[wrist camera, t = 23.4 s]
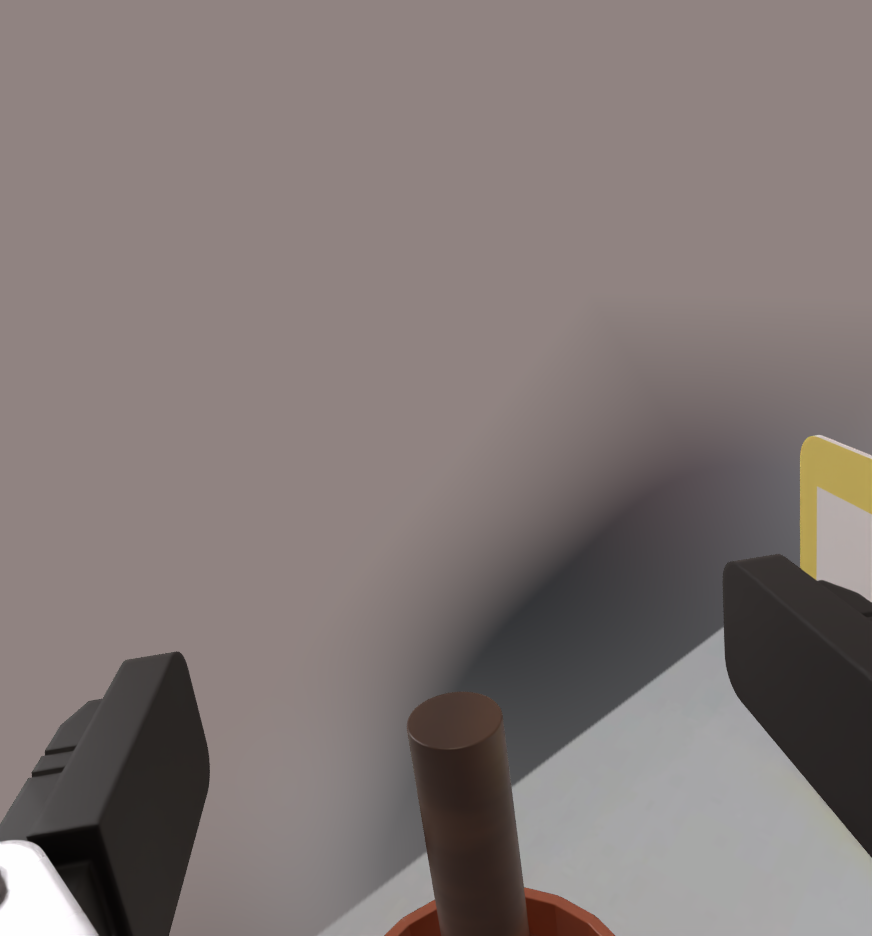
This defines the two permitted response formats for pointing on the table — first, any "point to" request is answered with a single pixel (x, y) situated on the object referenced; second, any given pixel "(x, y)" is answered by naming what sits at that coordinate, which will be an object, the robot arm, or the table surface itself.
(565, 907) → the bowl
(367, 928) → the table surface
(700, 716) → the table surface
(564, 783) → the table surface
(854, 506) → the tablet
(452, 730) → the brown tall cylinder
